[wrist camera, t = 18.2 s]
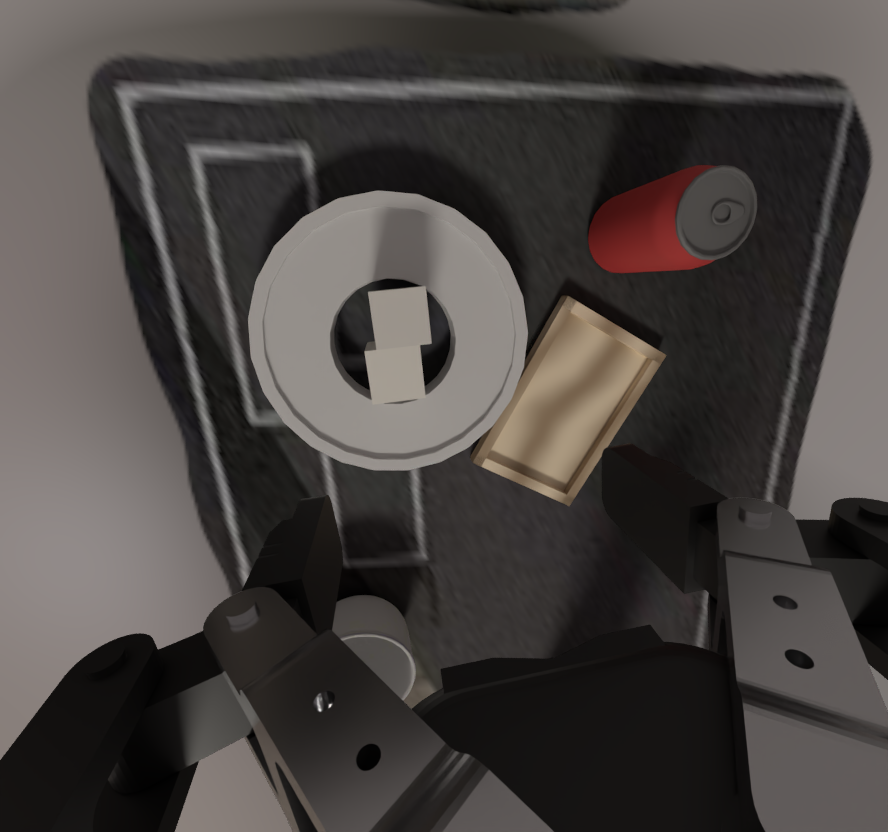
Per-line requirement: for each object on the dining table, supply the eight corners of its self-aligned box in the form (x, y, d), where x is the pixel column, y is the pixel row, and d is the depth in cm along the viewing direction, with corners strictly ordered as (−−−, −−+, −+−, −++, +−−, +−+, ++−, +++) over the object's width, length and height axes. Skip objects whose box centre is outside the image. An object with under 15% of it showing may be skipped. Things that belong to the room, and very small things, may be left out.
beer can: (651, 269, 39) (759, 262, 28) (585, 277, 39) (667, 274, 27) (654, 191, 37) (772, 150, 26) (584, 199, 37) (673, 160, 25)
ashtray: (472, 161, 35) (482, 146, 31) (540, 407, 43) (555, 419, 39) (212, 254, 35) (191, 250, 31) (327, 486, 42) (321, 506, 38)
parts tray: (657, 353, 42) (666, 355, 40) (564, 499, 46) (569, 506, 44) (561, 295, 39) (567, 295, 37) (469, 457, 43) (472, 462, 41)
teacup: (317, 576, 44) (303, 636, 37) (417, 581, 46) (423, 639, 39) (308, 677, 48) (293, 750, 41) (400, 678, 50) (403, 748, 43)
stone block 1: (420, 286, 34) (425, 286, 29) (425, 335, 35) (431, 343, 30) (370, 291, 33) (368, 292, 29) (377, 341, 35) (376, 349, 30)
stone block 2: (415, 336, 35) (419, 344, 30) (420, 383, 36) (425, 397, 31) (367, 342, 34) (364, 351, 30) (374, 388, 36) (372, 404, 31)
